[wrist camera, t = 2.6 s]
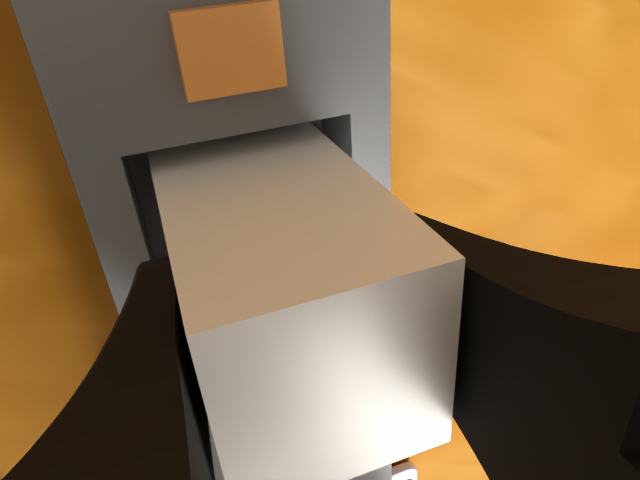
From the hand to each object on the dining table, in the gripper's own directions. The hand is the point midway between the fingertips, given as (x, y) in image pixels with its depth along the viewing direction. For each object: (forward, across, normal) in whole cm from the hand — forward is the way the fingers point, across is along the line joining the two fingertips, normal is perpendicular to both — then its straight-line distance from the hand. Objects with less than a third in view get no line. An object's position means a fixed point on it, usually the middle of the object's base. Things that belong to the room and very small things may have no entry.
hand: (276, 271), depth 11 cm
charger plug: (+3, 0, 0) cm, 3 cm away
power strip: (+5, 0, +3) cm, 6 cm away
